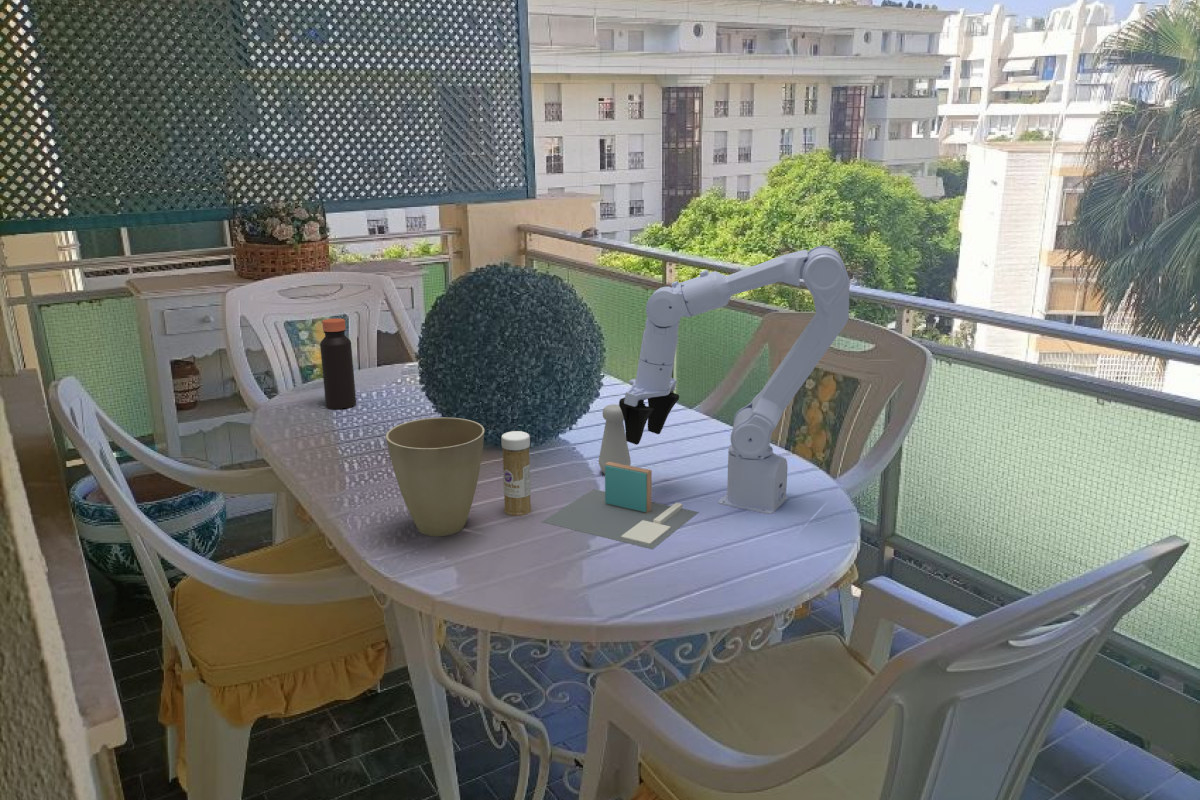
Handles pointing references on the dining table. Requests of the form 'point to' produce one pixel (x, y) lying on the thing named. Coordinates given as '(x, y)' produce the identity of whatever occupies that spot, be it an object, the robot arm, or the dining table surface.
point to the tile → (628, 487)
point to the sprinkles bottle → (516, 472)
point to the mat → (613, 518)
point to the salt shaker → (614, 438)
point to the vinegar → (337, 365)
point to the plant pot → (437, 470)
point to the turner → (652, 527)
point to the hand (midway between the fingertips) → (643, 437)
